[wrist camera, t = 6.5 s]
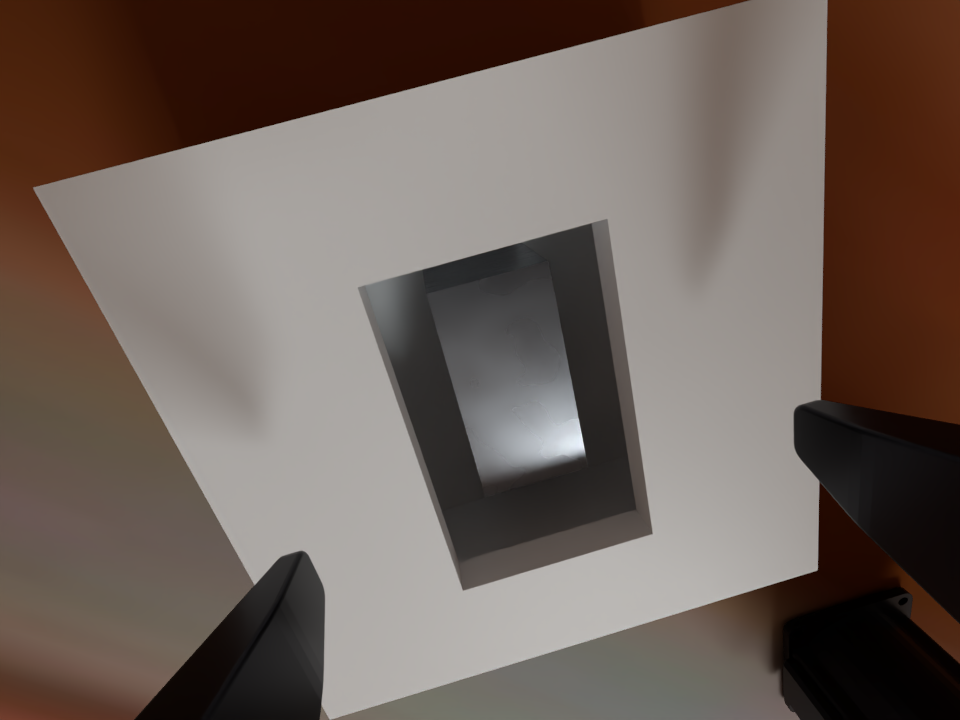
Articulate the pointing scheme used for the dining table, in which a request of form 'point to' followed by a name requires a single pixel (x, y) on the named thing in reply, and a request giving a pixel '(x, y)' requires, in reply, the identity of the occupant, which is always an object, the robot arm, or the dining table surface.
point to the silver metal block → (508, 365)
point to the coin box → (420, 359)
